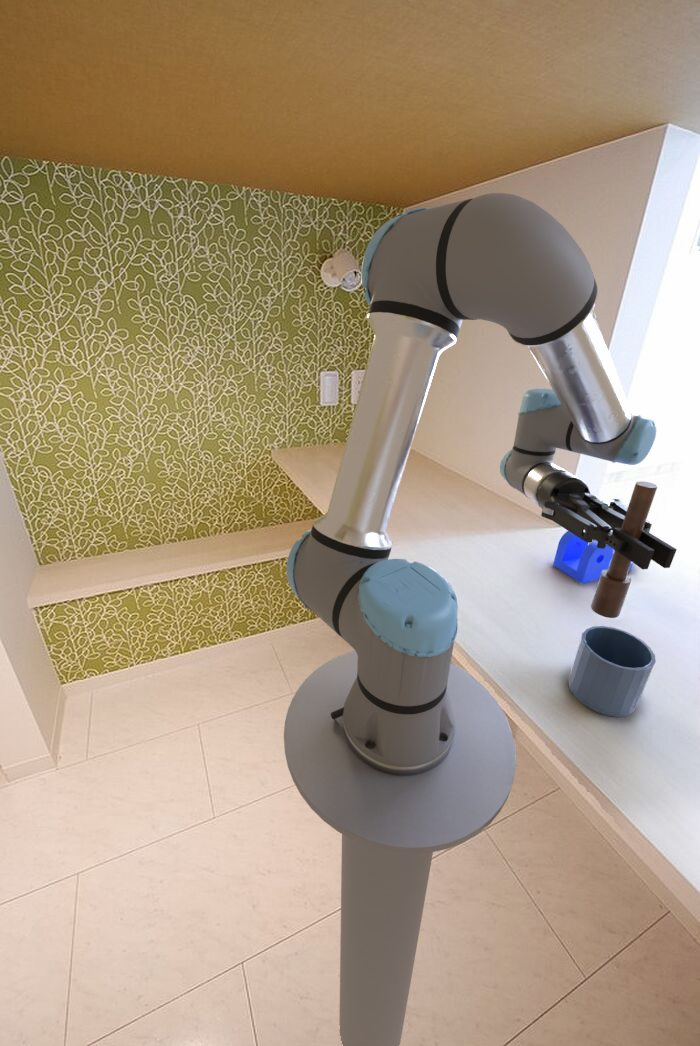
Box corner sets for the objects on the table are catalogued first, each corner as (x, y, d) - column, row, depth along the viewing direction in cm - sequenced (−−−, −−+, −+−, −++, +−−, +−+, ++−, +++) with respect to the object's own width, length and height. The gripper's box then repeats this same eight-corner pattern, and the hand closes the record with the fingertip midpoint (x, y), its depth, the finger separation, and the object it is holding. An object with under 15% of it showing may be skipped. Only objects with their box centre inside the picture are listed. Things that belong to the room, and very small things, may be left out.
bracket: (581, 583, 95) (592, 547, 91) (552, 565, 102) (561, 530, 98) (639, 568, 101) (651, 534, 97) (608, 552, 108) (619, 519, 104)
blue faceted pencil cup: (591, 719, 62) (609, 672, 59) (556, 671, 71) (569, 627, 67) (651, 714, 64) (671, 667, 60) (609, 667, 72) (624, 623, 68)
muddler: (601, 618, 63) (644, 490, 54) (585, 603, 66) (623, 479, 58) (625, 617, 63) (671, 489, 55) (608, 601, 67) (648, 479, 58)
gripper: (591, 509, 78) (703, 581, 57) (510, 512, 76) (595, 587, 55) (602, 469, 75) (725, 530, 54) (518, 472, 73) (611, 535, 52)
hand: (659, 559), depth 55 cm, fingers closed on muddler, 2 cm apart
